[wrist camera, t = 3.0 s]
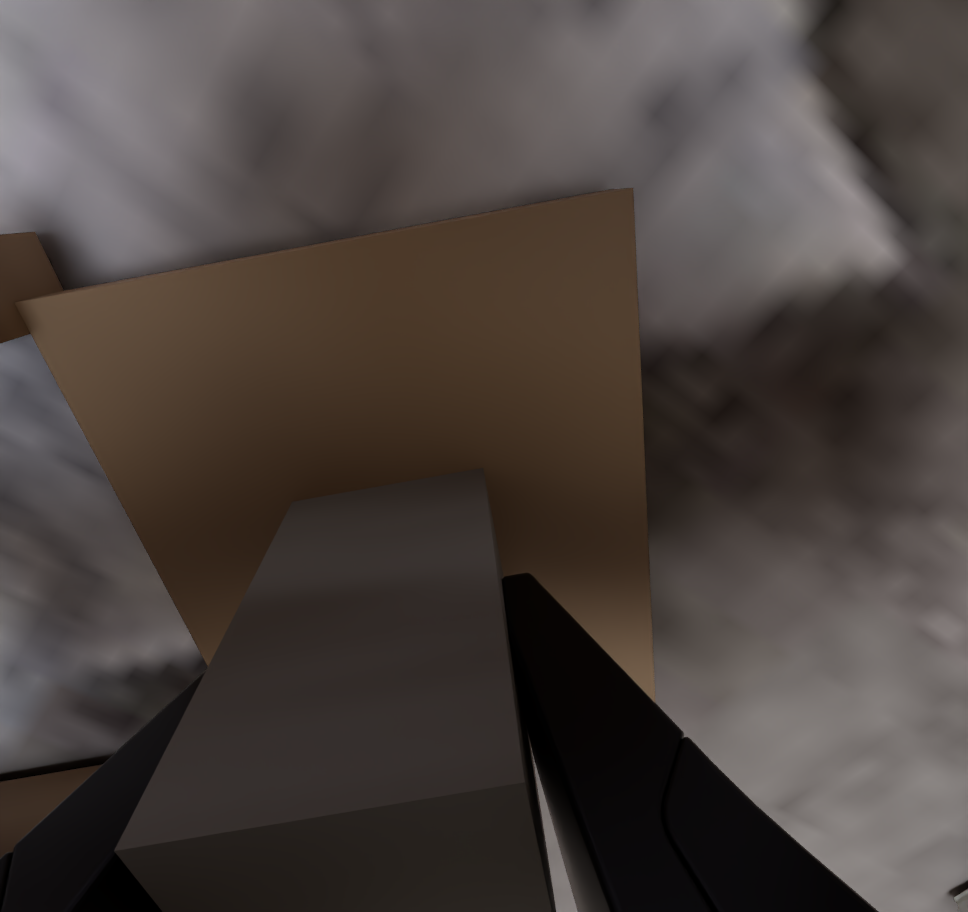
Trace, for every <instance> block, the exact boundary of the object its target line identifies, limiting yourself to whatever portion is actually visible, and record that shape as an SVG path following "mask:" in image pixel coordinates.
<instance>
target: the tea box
mask: <svg viewBox="0 0 968 912" xmlns="http://www.w3.org/2000/svg"><path fill="white" fill-rule="evenodd" d="M954 901H955V902H956V903H957V904H958V912H968V889H967V890H965V891H964V892H962V893H960V894H959V895H957V896H956V897H954Z"/></svg>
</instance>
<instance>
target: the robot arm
mask: <svg viewBox="0 0 968 912" xmlns="http://www.w3.org/2000/svg"><path fill="white" fill-rule="evenodd" d="M502 587H503V595H504V603H505V611H506V619H507V627H508V634H509V639H510V644H511V649H512V654H513V659H514V664H515V669H516V674H517V680H518V685H519V690H520V695H521V700H522V705H523V710H524V715H525V720H526V725H527V730H528V735H529V740H530V744H531V748H532V752H533V756H534V759H535V763H536V766H537V770H538V773H539V777H540V780H541V784H542V787H543V791H544V794H545V798H546V801H547V805H548V808H549V812H550V815H551V819H552V822H553V826H554V829H555V833H556V836H557V840H558V843H559V847H560V850H561V854H562V857H563V861H564V864H565V868H566V871H567V875H568V878H569V882H570V885H571V889H572V892H573V896H574V899H575V903H576V906H577V910H578V912H878V911H877V910H876V909H875V908H874V907H873V906H871V905H870V904H869V903H868V902H867V901H866V900H864V899H863V898H862V897H861V896H860V895H859V894H857V893H856V892H855V891H854V890H853V889H852V888H850V887H849V886H848V885H847V884H846V883H845V882H843V881H842V880H841V879H840V878H839V877H837V876H836V875H835V874H834V873H833V872H832V871H830V870H829V869H828V868H827V867H826V866H825V865H823V864H822V863H821V862H820V861H819V860H818V859H816V858H815V857H814V856H813V855H812V854H811V853H809V852H808V851H807V850H806V849H805V848H804V847H803V846H801V845H800V844H799V843H798V842H797V841H796V840H795V839H794V838H792V837H791V836H790V835H789V834H788V833H787V832H786V831H785V830H783V829H782V828H781V827H780V826H779V825H778V824H777V823H776V822H774V821H773V820H772V819H771V818H770V817H769V816H768V815H767V814H765V813H764V812H763V811H762V810H761V809H760V808H759V807H758V806H756V805H755V804H754V803H753V802H752V801H751V800H750V799H749V798H748V797H747V796H746V795H745V794H744V793H743V792H742V791H741V790H740V789H739V788H738V787H737V786H736V785H735V784H734V783H733V782H732V781H731V780H730V779H729V778H728V777H727V776H726V775H725V774H724V773H723V772H722V771H721V770H720V769H719V768H718V767H717V766H716V765H715V764H714V763H713V762H712V761H711V760H710V759H709V758H708V757H707V756H706V755H705V754H704V753H703V752H702V751H701V750H700V749H699V748H698V747H697V745H696V744H695V743H694V742H693V741H692V740H691V739H690V738H688V737H684V733H683V731H682V730H681V729H680V728H679V727H678V726H677V725H676V724H675V723H674V722H673V721H672V720H671V719H670V718H669V717H668V716H667V715H666V714H665V713H664V712H663V711H662V710H661V708H660V707H659V706H658V705H657V704H656V703H655V702H654V701H653V700H652V699H651V698H650V697H649V696H648V695H647V694H646V693H645V692H644V691H643V690H642V689H641V688H640V687H639V686H638V685H637V684H636V682H635V681H634V680H633V679H632V678H631V677H630V676H629V675H628V674H627V673H626V672H625V671H624V670H623V669H622V668H621V667H620V666H619V665H618V664H617V663H616V662H615V661H614V660H613V659H612V657H611V656H610V655H609V654H608V653H607V652H606V651H605V650H604V649H603V648H602V647H601V646H600V645H599V644H598V643H597V642H596V641H595V640H594V639H593V638H592V637H591V636H590V635H589V634H588V633H587V631H586V630H585V629H584V628H583V627H582V626H581V625H580V624H579V623H578V622H577V621H576V620H575V619H574V618H573V617H572V616H571V615H570V614H569V613H568V612H567V611H566V610H565V609H564V608H563V607H562V605H561V604H560V603H559V602H558V601H557V600H556V599H555V598H554V597H553V596H552V595H551V594H550V593H549V592H548V591H547V590H546V589H545V588H544V587H543V586H542V585H541V584H540V583H539V582H538V581H537V579H536V578H535V577H534V576H533V575H531V574H530V573H520V574H514V575H509V576H505V577H503V579H502ZM206 670H207V669H206ZM206 670H205V671H204V672H203V673H202V674H201V675H200V676H198V677H197V678H196V679H195V680H194V681H193V682H192V683H191V684H190V685H189V686H188V687H186V688H185V689H184V690H183V691H182V692H181V693H180V694H179V695H178V696H177V697H176V698H174V699H173V700H172V701H171V702H170V703H169V704H168V705H167V706H166V707H165V708H164V709H162V710H161V711H160V712H159V713H158V714H157V715H156V716H155V717H154V718H153V719H152V720H151V721H149V722H148V723H147V724H146V725H145V726H144V727H143V728H142V729H141V730H140V731H139V732H137V733H136V734H135V735H134V736H133V737H132V738H131V739H130V740H129V741H128V742H127V743H125V744H124V745H123V746H122V747H121V748H120V749H119V750H118V751H117V752H116V753H115V754H113V755H112V756H111V757H110V758H109V759H108V760H107V761H106V762H105V763H104V764H103V765H101V766H100V767H99V768H98V769H97V770H96V771H95V772H94V773H93V774H92V775H91V776H89V777H88V778H87V779H86V780H85V781H84V782H83V783H82V784H81V785H80V786H79V787H77V788H76V789H75V790H74V791H73V792H72V793H71V794H70V795H69V796H68V797H67V798H65V799H64V800H63V801H62V802H61V803H60V804H59V805H58V806H57V807H56V808H55V809H53V810H52V811H51V812H50V813H49V814H48V815H47V816H46V817H45V818H44V819H43V820H41V821H40V822H39V823H38V824H37V825H36V826H35V827H34V828H33V829H32V830H31V831H29V832H28V833H27V834H26V835H25V836H24V837H23V838H22V839H21V840H20V841H19V842H17V844H16V845H15V846H14V849H13V852H7V853H5V854H4V855H3V856H2V857H1V858H0V912H162V910H161V909H160V908H159V907H158V905H157V904H156V903H155V902H154V900H153V899H152V898H151V897H150V895H149V894H148V893H147V892H146V890H145V889H144V888H143V887H142V885H141V884H140V883H139V882H138V880H137V879H136V878H135V877H134V875H133V874H132V873H131V872H130V870H129V869H128V868H127V866H126V865H125V864H124V863H123V861H122V860H121V859H120V858H119V856H118V855H117V854H116V853H115V851H114V850H115V848H116V846H117V844H118V842H119V840H120V838H121V836H122V834H123V832H124V831H125V829H126V827H127V825H128V823H129V821H130V819H131V817H132V815H133V813H134V811H135V809H136V807H137V805H138V803H139V801H140V799H141V797H142V795H143V793H144V791H145V789H146V787H147V785H148V783H149V782H150V780H151V778H152V776H153V774H154V772H155V770H156V768H157V766H158V764H159V762H160V760H161V758H162V756H163V754H164V752H165V750H166V748H167V746H168V744H169V742H170V740H171V738H172V736H173V735H174V733H175V731H176V729H177V727H178V725H179V723H180V721H181V719H182V717H183V715H184V713H185V711H186V709H187V707H188V705H189V703H190V701H191V699H192V697H193V695H194V693H195V691H196V689H197V687H198V686H199V684H200V682H201V680H202V678H203V676H204V674H205V672H206Z"/></svg>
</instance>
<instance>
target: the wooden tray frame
mask: <svg viewBox="0 0 968 912" xmlns="http://www.w3.org/2000/svg"><path fill="white" fill-rule="evenodd" d="M28 334H31V335H32V337H33V339H34V341H35V343H36V345H37V347H38V348H39V350H40V352H41V354H42V356H43V358H44V360H45V362H46V363H47V365H48V367H49V369H50V371H51V373H52V375H53V377H54V378H55V380H56V382H57V384H58V386H59V388H60V390H61V392H62V393H63V395H64V397H65V399H66V401H67V403H68V405H69V407H70V409H71V410H72V412H73V414H74V416H75V418H76V420H77V422H78V424H79V425H80V427H81V429H82V431H83V433H84V435H85V437H86V439H87V440H88V442H89V444H90V446H91V448H92V450H93V452H94V454H95V455H96V457H97V459H98V461H99V463H100V465H101V467H102V469H103V471H104V472H105V474H106V476H107V478H108V480H109V482H110V484H111V486H112V487H113V489H114V491H115V493H116V495H117V497H118V499H119V501H120V502H121V504H122V506H123V508H124V510H125V512H126V514H127V516H128V517H129V519H130V521H131V523H132V525H133V527H134V529H135V531H136V532H137V534H138V536H139V538H140V540H141V542H142V544H143V546H144V548H145V549H146V551H147V553H148V555H149V557H150V559H151V561H152V563H153V564H154V566H155V568H156V570H157V572H158V574H159V576H160V578H161V579H162V581H163V583H164V585H165V587H166V589H167V591H168V593H169V594H170V596H171V598H172V600H173V602H174V604H175V606H176V608H177V610H178V611H179V613H180V615H181V617H182V619H183V621H184V623H185V625H186V626H187V628H188V630H189V632H190V634H191V636H192V638H193V640H194V641H195V643H196V645H197V647H198V649H199V651H200V653H201V655H202V656H203V658H204V660H205V662H206V664H207V666H208V668H207V670H206V672H205V674H204V676H203V678H202V680H201V682H200V684H199V686H198V687H197V689H196V691H195V693H194V695H193V697H192V699H191V701H190V703H189V705H188V707H187V709H186V711H185V713H184V715H183V717H182V719H181V721H180V723H179V725H178V727H177V729H176V731H175V733H174V735H173V736H172V738H171V740H170V742H169V744H168V746H167V748H166V750H165V752H164V754H163V756H162V758H161V760H160V762H159V764H158V766H157V768H156V770H155V772H154V774H153V776H152V778H151V780H150V782H149V783H148V785H147V787H146V789H145V791H144V793H143V795H142V797H141V799H140V801H139V803H138V805H137V807H136V809H135V811H134V813H133V815H132V817H131V819H130V821H129V823H128V825H127V827H126V829H125V831H124V832H123V834H122V836H121V838H120V840H119V842H118V844H117V846H116V848H115V850H114V851H115V853H116V854H117V855H118V856H119V858H120V859H121V860H122V861H123V863H124V864H125V865H126V866H127V868H128V869H129V870H130V872H131V873H132V874H133V875H134V877H135V878H136V879H137V880H138V882H139V883H140V884H141V885H142V887H143V888H144V889H145V890H146V892H147V893H148V894H149V895H150V897H151V898H152V899H153V900H154V902H155V903H156V904H157V905H158V907H159V908H160V909H161V910H162V912H556V908H555V901H554V894H553V888H552V881H551V875H550V868H549V862H548V855H547V848H546V842H545V835H544V829H543V822H542V816H541V809H540V802H539V796H538V789H537V783H536V776H535V770H534V763H533V756H532V750H531V744H530V740H529V735H528V730H527V725H526V720H525V715H524V710H523V705H522V700H521V695H520V690H519V685H518V680H517V674H516V669H515V664H514V659H513V654H512V649H511V644H510V639H509V634H508V627H507V619H506V611H505V603H504V595H503V587H502V579H503V577H505V576H509V575H514V574H520V573H530V574H531V575H533V576H534V577H535V578H536V579H537V581H538V582H539V583H540V584H541V585H542V586H543V587H544V588H545V589H546V590H547V591H548V592H549V593H550V594H551V595H552V596H553V597H554V598H555V599H556V600H557V601H558V602H559V603H560V604H561V605H562V607H563V608H564V609H565V610H566V611H567V612H568V613H569V614H570V615H571V616H572V617H573V618H574V619H575V620H576V621H577V622H578V623H579V624H580V625H581V626H582V627H583V628H584V629H585V630H586V631H587V633H588V634H589V635H590V636H591V637H592V638H593V639H594V640H595V641H596V642H597V643H598V644H599V645H600V646H601V647H602V648H603V649H604V650H605V651H606V652H607V653H608V654H609V655H610V656H611V657H612V659H613V660H614V661H615V662H616V663H617V664H618V665H619V666H620V667H621V668H622V669H623V670H624V671H625V672H626V673H627V674H628V675H629V676H630V677H631V678H632V679H633V680H634V681H635V682H636V684H637V685H638V686H639V687H640V688H641V689H642V690H643V691H644V692H645V693H646V694H647V695H648V696H649V697H650V698H651V699H652V700H653V701H654V702H655V685H654V661H653V638H652V615H651V592H650V569H649V545H648V522H647V499H646V476H645V452H644V429H643V406H642V383H641V359H640V336H639V313H638V290H637V266H636V243H635V220H634V197H633V188H624V189H609V190H604V191H599V192H593V193H588V194H583V195H577V196H572V197H566V198H561V199H556V200H550V201H545V202H539V203H534V204H529V205H523V206H518V207H512V208H507V209H502V210H496V211H491V212H486V213H480V214H475V215H469V216H464V217H459V218H453V219H448V220H442V221H437V222H432V223H426V224H421V225H415V226H410V227H405V228H399V229H394V230H389V231H383V232H378V233H372V234H367V235H362V236H356V237H351V238H345V239H340V240H335V241H329V242H324V243H318V244H313V245H308V246H302V247H297V248H292V249H286V250H281V251H275V252H270V253H265V254H259V255H254V256H248V257H243V258H238V259H232V260H227V261H221V262H216V263H211V264H205V265H200V266H195V267H189V268H184V269H178V270H173V271H168V272H162V273H157V274H151V275H146V276H141V277H135V278H130V279H124V280H119V281H114V282H108V283H103V284H98V285H92V286H87V287H81V288H76V289H71V290H65V291H64V290H63V288H62V286H61V284H60V282H59V280H58V278H57V276H56V274H55V272H54V270H53V268H52V265H51V263H50V261H49V259H48V257H47V255H46V253H45V251H44V249H43V247H42V245H41V243H40V241H39V239H38V237H37V235H36V233H35V232H26V233H14V234H2V235H0V343H3V342H6V341H9V340H12V339H15V338H19V337H22V336H25V335H28ZM100 766H101V765H97V766H91V767H85V768H79V769H73V770H67V771H61V772H56V773H50V774H44V775H38V776H32V777H26V778H20V779H14V780H9V781H3V782H0V858H1V857H2V856H3V855H4V854H5V853H7V852H13V849H14V846H15V845H16V844H17V842H19V841H20V840H21V839H22V838H23V837H24V836H25V835H26V834H27V833H28V832H29V831H31V830H32V829H33V828H34V827H35V826H36V825H37V824H38V823H39V822H40V821H41V820H43V819H44V818H45V817H46V816H47V815H48V814H49V813H50V812H51V811H52V810H53V809H55V808H56V807H57V806H58V805H59V804H60V803H61V802H62V801H63V800H64V799H65V798H67V797H68V796H69V795H70V794H71V793H72V792H73V791H74V790H75V789H76V788H77V787H79V786H80V785H81V784H82V783H83V782H84V781H85V780H86V779H87V778H88V777H89V776H91V775H92V774H93V773H94V772H95V771H96V770H97V769H98V768H99V767H100Z"/></svg>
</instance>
